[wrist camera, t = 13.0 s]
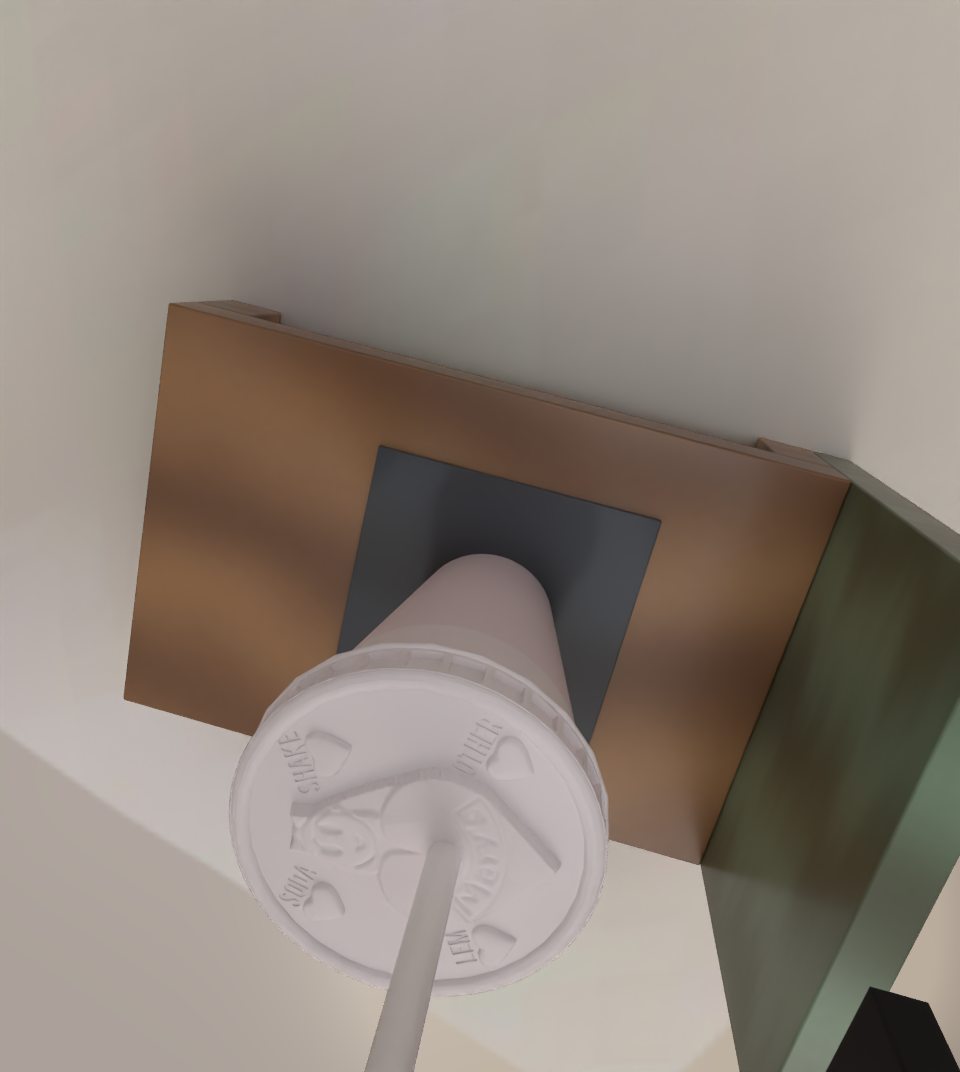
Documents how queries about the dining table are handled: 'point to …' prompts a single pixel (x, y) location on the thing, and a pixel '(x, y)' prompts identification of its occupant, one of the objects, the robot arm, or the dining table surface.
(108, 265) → the dining table surface
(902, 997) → the robot arm
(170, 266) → the dining table surface
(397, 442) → the wooden board with backrest
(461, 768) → the smoothie
